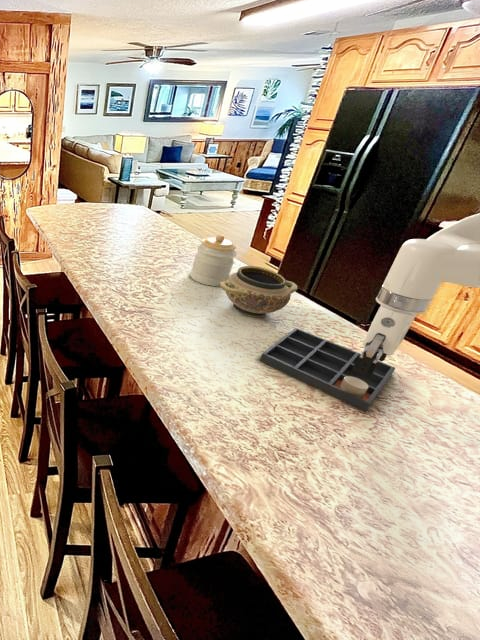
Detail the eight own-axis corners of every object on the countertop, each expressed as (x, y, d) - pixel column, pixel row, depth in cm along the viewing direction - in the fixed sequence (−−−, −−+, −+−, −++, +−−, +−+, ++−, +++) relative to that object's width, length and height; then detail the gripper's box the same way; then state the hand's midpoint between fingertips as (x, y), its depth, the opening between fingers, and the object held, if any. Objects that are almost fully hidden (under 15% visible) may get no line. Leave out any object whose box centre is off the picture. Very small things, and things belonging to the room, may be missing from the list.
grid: (391, 375, 98) (395, 367, 96) (365, 412, 86) (370, 404, 85) (292, 334, 113) (295, 327, 112) (259, 360, 102) (262, 353, 101)
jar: (231, 289, 139) (246, 243, 132) (192, 283, 142) (204, 238, 135) (222, 274, 151) (236, 231, 143) (187, 270, 154) (198, 227, 146)
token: (365, 394, 90) (371, 384, 89) (359, 401, 88) (365, 391, 86) (342, 383, 93) (347, 373, 92) (336, 390, 91) (341, 380, 89)
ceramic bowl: (220, 327, 121) (241, 292, 111) (197, 289, 134) (214, 255, 124) (296, 329, 121) (324, 294, 112) (266, 291, 135) (288, 257, 125)
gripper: (418, 320, 72) (378, 390, 79) (437, 294, 81) (400, 360, 89) (366, 303, 77) (334, 371, 85) (390, 281, 87) (358, 344, 94)
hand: (367, 365), depth 87 cm, fingers open, 9 cm apart
